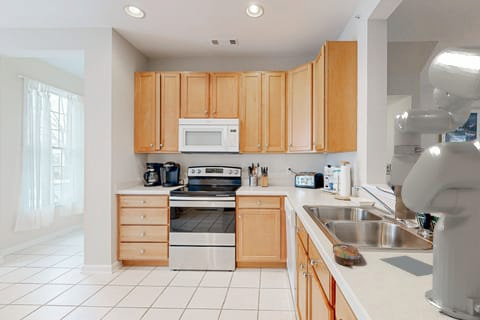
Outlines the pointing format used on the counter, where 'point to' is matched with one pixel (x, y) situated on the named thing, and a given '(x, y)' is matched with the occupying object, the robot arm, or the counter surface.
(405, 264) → the mat
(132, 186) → the counter surface
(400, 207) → the block
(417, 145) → the robot arm
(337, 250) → the tin
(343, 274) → the counter surface
